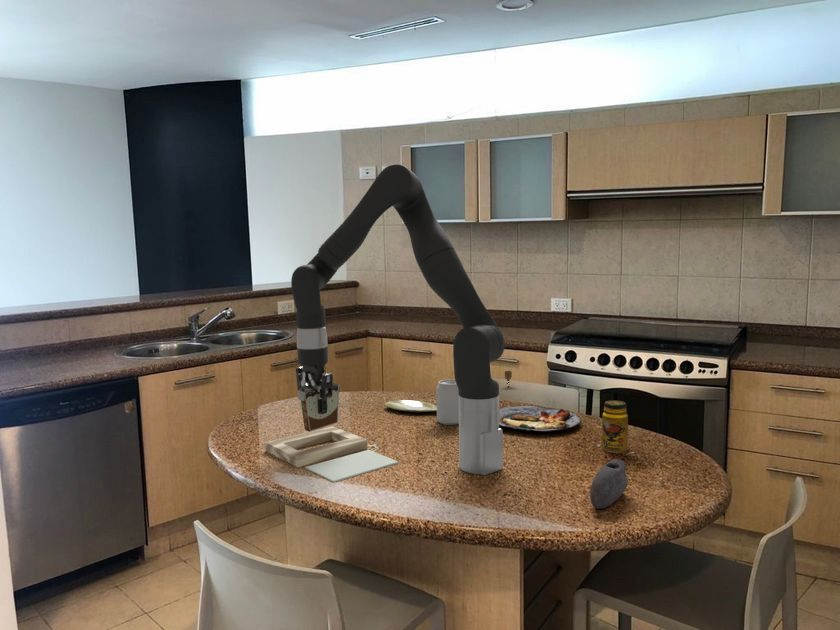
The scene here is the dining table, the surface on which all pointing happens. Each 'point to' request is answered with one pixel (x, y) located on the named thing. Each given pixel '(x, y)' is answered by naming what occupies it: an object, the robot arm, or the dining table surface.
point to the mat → (351, 465)
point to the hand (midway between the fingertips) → (315, 410)
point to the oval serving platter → (411, 406)
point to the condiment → (615, 427)
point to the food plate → (545, 422)
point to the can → (447, 402)
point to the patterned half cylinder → (311, 408)
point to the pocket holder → (288, 446)
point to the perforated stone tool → (608, 484)
